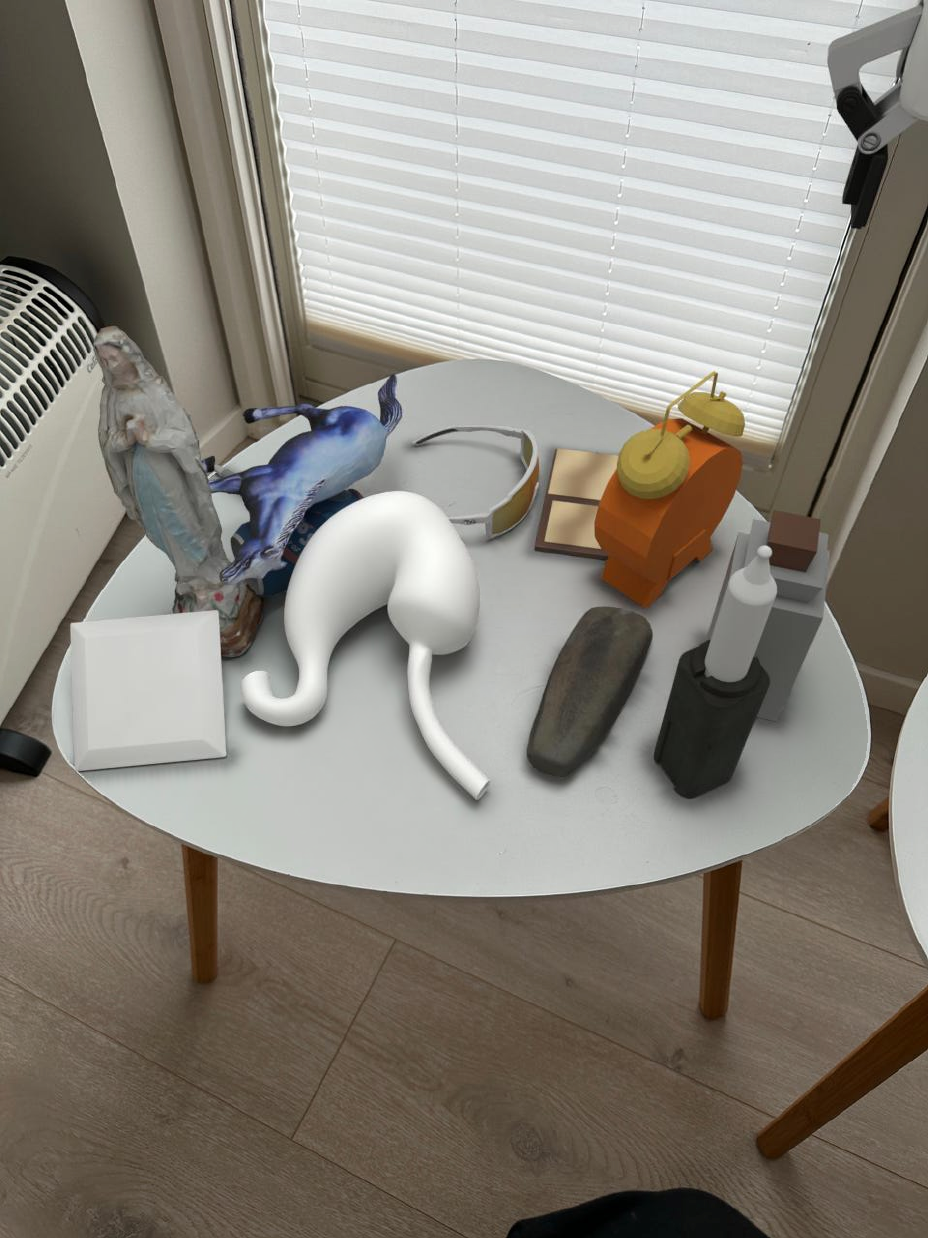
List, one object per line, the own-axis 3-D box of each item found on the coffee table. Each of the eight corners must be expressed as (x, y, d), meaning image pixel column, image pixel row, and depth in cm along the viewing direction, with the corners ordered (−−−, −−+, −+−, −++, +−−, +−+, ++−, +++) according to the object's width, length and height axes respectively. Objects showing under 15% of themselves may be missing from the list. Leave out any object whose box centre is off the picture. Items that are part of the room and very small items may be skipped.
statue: (164, 649, 82) (36, 361, 59) (197, 586, 86) (90, 296, 63) (244, 663, 81) (146, 376, 57) (274, 599, 85) (194, 308, 62)
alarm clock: (672, 510, 92) (710, 334, 76) (724, 542, 89) (774, 366, 73) (583, 583, 86) (604, 409, 70) (636, 620, 83) (670, 447, 68)
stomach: (235, 702, 83) (449, 864, 76) (177, 653, 71) (425, 840, 64) (392, 511, 89) (605, 645, 82) (362, 434, 77) (611, 584, 69)
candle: (647, 751, 75) (704, 532, 55) (701, 727, 76) (775, 506, 57) (683, 803, 72) (756, 592, 52) (738, 777, 73) (829, 562, 54)
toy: (120, 509, 78) (227, 557, 69) (344, 331, 90) (460, 354, 81) (164, 574, 83) (269, 627, 74) (370, 398, 95) (481, 426, 86)
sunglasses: (521, 555, 88) (515, 516, 84) (375, 537, 93) (363, 500, 89) (558, 458, 96) (554, 418, 93) (423, 446, 101) (414, 408, 97)
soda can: (235, 523, 79) (358, 474, 84) (221, 535, 86) (337, 490, 90) (269, 598, 80) (389, 546, 85) (253, 605, 86) (366, 556, 91)
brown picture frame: (624, 461, 96) (625, 456, 96) (610, 560, 88) (611, 555, 87) (555, 453, 97) (555, 447, 97) (534, 550, 89) (534, 545, 88)
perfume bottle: (706, 639, 82) (751, 488, 68) (785, 658, 80) (848, 507, 66) (693, 701, 78) (739, 554, 64) (776, 721, 76) (841, 575, 62)
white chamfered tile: (69, 771, 73) (91, 771, 78) (223, 756, 74) (236, 757, 79) (65, 620, 75) (86, 630, 80) (215, 607, 76) (228, 617, 81)
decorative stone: (586, 614, 84) (591, 583, 81) (655, 638, 82) (662, 608, 79) (508, 766, 74) (509, 739, 71) (584, 797, 72) (589, 771, 69)
